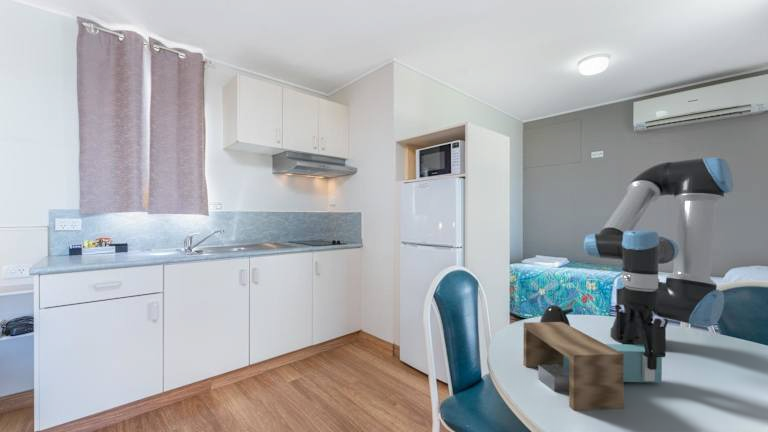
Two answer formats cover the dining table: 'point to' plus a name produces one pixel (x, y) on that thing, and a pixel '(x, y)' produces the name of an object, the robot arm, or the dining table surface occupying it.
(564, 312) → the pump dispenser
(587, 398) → the walnut shelf
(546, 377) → the low grey plinth
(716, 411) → the dining table surface
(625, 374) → the teal batten
